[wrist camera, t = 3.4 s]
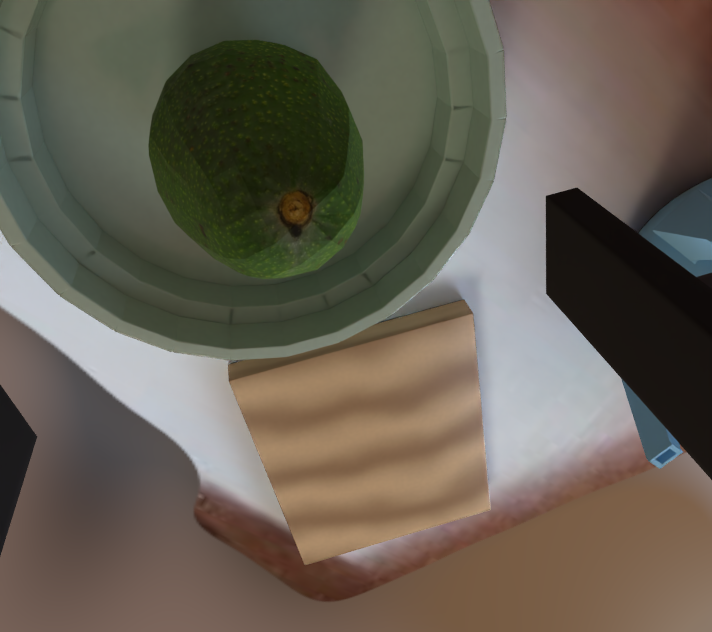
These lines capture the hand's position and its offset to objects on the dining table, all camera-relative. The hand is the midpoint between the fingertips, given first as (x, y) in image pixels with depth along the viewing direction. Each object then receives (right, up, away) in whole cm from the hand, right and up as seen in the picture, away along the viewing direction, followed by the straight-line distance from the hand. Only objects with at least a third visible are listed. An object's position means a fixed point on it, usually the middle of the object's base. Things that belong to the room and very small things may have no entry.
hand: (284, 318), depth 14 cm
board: (+3, -8, +26) cm, 27 cm away
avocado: (-3, +9, +13) cm, 16 cm away
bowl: (-3, +9, +13) cm, 16 cm away
